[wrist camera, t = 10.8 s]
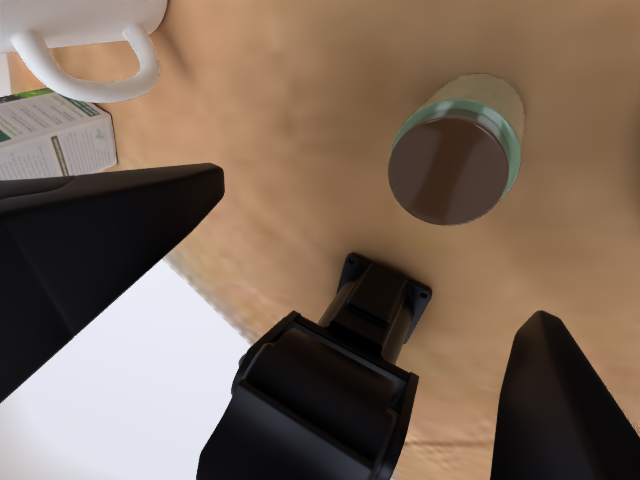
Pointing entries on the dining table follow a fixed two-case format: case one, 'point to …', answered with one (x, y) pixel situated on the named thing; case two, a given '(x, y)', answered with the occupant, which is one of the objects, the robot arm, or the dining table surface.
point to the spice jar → (459, 151)
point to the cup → (82, 41)
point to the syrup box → (53, 136)
